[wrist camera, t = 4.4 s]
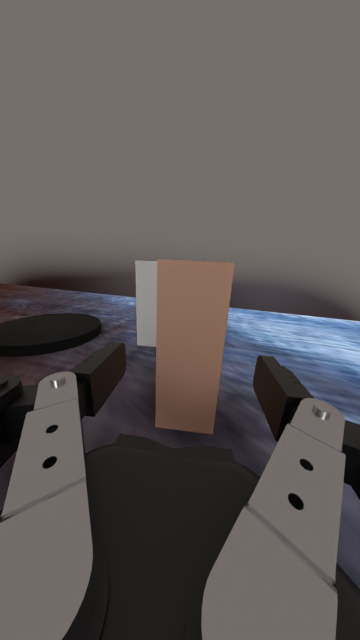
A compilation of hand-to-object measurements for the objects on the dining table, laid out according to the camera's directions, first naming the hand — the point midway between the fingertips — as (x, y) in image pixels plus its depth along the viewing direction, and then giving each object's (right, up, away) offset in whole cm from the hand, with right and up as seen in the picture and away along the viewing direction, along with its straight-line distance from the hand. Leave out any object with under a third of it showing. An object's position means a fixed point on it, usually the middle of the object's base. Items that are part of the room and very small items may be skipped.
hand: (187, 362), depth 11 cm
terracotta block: (0, -6, +7) cm, 10 cm away
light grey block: (-5, -1, +23) cm, 24 cm away
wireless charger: (-25, -1, +24) cm, 35 cm away
